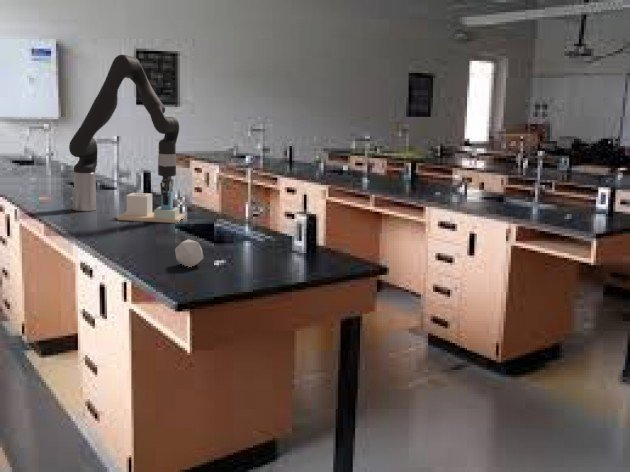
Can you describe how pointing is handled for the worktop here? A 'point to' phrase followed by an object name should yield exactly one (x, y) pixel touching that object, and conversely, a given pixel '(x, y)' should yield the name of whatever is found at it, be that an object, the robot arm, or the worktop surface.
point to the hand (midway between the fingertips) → (167, 204)
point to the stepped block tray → (148, 210)
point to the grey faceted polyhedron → (189, 253)
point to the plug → (170, 202)
